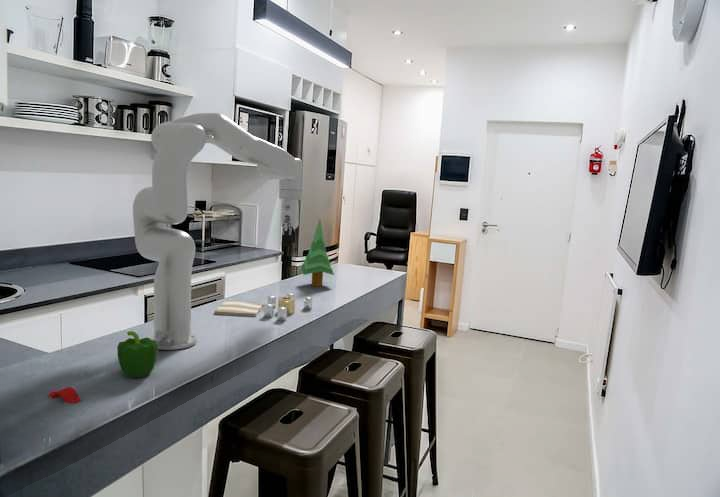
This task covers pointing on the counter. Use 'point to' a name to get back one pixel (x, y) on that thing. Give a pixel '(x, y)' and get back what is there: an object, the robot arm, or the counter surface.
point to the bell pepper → (137, 355)
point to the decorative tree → (317, 259)
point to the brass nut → (287, 303)
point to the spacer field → (282, 310)
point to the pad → (239, 308)
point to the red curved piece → (66, 395)
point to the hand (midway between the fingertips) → (288, 244)
